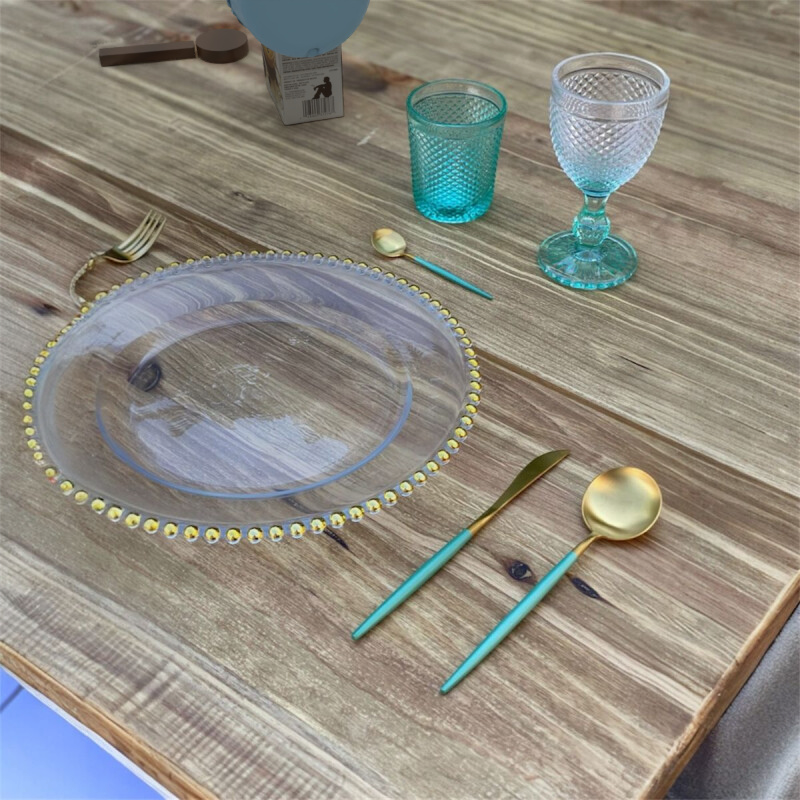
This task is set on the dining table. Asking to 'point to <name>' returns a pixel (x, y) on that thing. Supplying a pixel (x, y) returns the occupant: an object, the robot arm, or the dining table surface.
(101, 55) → the spoon
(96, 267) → the dining table surface
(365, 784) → the dining table surface
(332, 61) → the coffee box
